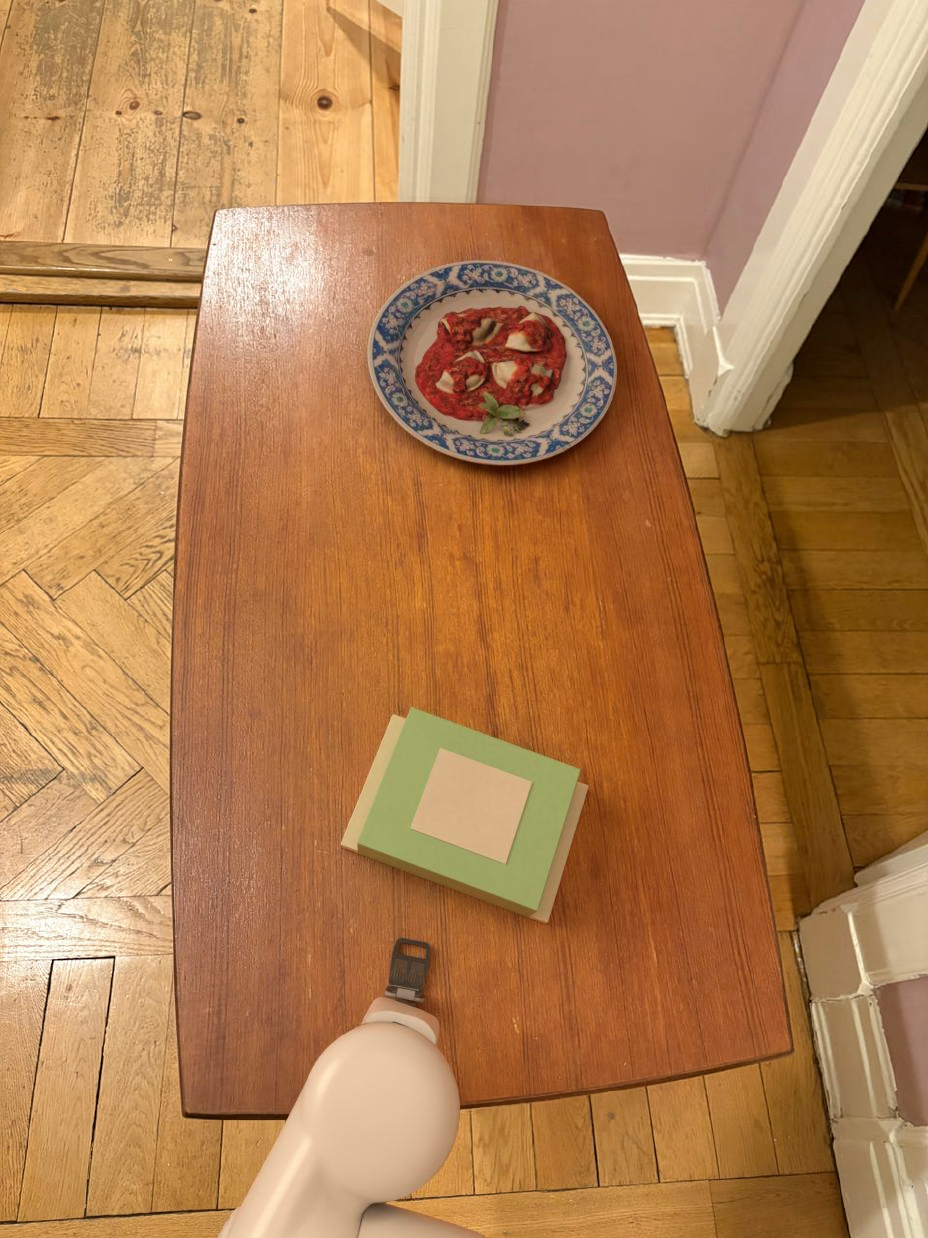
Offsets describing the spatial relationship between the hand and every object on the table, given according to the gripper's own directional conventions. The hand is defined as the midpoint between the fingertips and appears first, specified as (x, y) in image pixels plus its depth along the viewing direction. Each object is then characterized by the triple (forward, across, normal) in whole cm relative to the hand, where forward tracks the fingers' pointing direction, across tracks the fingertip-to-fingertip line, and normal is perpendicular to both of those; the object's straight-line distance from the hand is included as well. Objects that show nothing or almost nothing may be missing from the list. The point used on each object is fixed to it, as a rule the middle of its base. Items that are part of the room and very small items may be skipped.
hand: (376, 1074), depth 71 cm
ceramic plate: (+2, +66, +13) cm, 67 cm away
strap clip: (+2, +6, 0) cm, 6 cm away
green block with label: (+2, +21, 0) cm, 21 cm away
